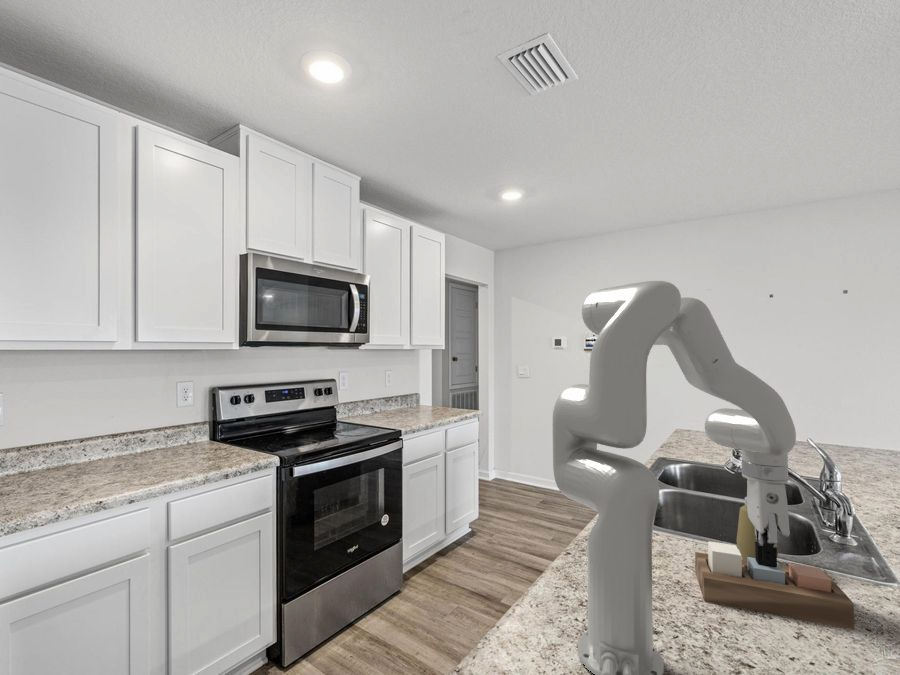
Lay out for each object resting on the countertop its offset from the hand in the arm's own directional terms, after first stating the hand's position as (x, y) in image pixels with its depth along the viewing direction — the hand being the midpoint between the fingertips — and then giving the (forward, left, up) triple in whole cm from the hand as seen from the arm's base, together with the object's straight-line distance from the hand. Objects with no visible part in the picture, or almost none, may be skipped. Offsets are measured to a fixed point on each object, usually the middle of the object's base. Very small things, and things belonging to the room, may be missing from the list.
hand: (766, 564), depth 87 cm
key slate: (0, 0, -5) cm, 5 cm away
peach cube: (0, -7, -5) cm, 9 cm away
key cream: (0, +7, -3) cm, 8 cm away
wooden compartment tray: (0, 0, -7) cm, 7 cm away
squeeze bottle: (+17, -2, -7) cm, 18 cm away
